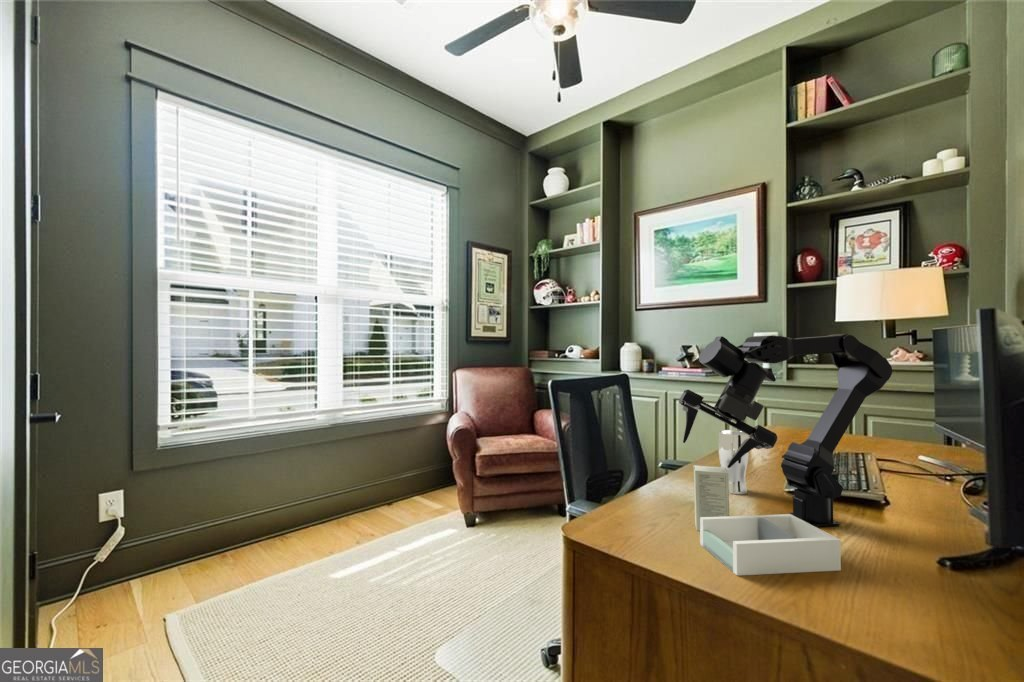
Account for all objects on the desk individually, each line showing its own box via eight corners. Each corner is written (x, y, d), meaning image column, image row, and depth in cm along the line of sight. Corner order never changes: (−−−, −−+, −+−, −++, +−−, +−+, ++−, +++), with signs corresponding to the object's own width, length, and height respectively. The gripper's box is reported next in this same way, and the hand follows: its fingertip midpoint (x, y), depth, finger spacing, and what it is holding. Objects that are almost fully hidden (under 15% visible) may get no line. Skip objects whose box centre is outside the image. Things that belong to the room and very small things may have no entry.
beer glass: (753, 496, 106) (752, 435, 106) (722, 494, 107) (722, 434, 108) (743, 487, 113) (743, 430, 113) (715, 485, 114) (715, 429, 114)
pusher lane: (790, 540, 81) (790, 514, 81) (840, 570, 70) (840, 539, 70) (700, 544, 79) (699, 517, 79) (736, 575, 68) (736, 543, 68)
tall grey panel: (763, 539, 79) (763, 518, 79) (797, 561, 71) (796, 537, 71) (758, 539, 79) (758, 518, 79) (791, 561, 71) (791, 537, 71)
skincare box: (726, 526, 87) (726, 466, 88) (730, 535, 83) (729, 472, 83) (693, 522, 89) (693, 464, 90) (695, 531, 85) (694, 469, 86)
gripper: (700, 358, 85) (662, 426, 84) (801, 405, 78) (761, 481, 76) (696, 371, 95) (662, 432, 94) (785, 414, 88) (749, 481, 86)
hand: (705, 454), depth 87 cm, fingers open, 9 cm apart
